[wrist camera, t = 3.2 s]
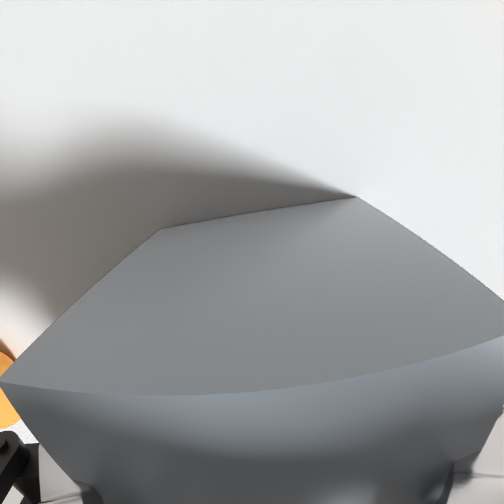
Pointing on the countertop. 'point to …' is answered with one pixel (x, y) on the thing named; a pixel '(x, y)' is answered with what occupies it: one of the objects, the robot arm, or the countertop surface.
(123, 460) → the grey square block
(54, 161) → the countertop surface
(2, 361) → the ball
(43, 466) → the robot arm
